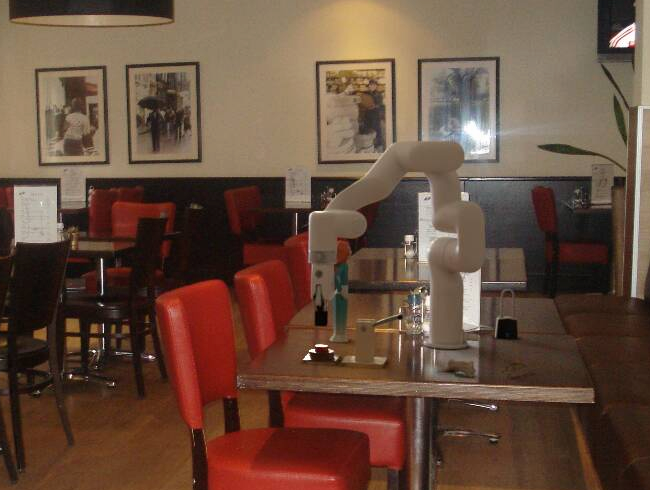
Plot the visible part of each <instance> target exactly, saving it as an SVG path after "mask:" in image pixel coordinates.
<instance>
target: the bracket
mask: <svg viewBox="0 0 650 490" xmlns="http://www.w3.org/2000/svg"><path fill="white" fill-rule="evenodd" d="M375 320H376V319H374V318H357V320H356V321H355V326H354V328H355V329H354V330H355V332H354V333H355V334H354V337H355V338H354V355H345V357H344V358H343V359H342V360H341V364H351V365H368V366H369V365H370V366H385V364H386V363H387V362H386V361H388V357H382V356H380V357H379V356H375V327H376V326H374V327H373V322H376V321H375ZM368 321H369V322H368Z"/></svg>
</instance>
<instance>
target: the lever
mask: <svg viewBox="0 0 650 490" xmlns="http://www.w3.org/2000/svg"><path fill="white" fill-rule="evenodd" d="M405 315H406V314H405V312H404V311H400V312H399V313H398V314H396V315H392V316H389V317H386V318H383V319H380V320H377V321H375V322H373V327H374V326H375V327H377V326H380V325H384V324H387V323H390V322H393V321H397V320H399V321H402V320H403V319H404V318H405ZM368 322H369V321H368Z"/></svg>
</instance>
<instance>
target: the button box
mask: <svg viewBox="0 0 650 490" xmlns="http://www.w3.org/2000/svg"><path fill="white" fill-rule="evenodd" d="M308 351H309V352H308V354H306V356H304V357H303V358H302V362H320V363H321V362H322V363H337V362H338V361H339V359H340V358H341V357H342V356H341V355H339V354H335V350H333V349H330V348H329V352H315V348H312V349H310V350H308Z"/></svg>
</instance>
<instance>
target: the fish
mask: <svg viewBox="0 0 650 490" xmlns="http://www.w3.org/2000/svg"><path fill="white" fill-rule="evenodd" d="M532 362H533V359H532V358H531V359H530V360H529V361H528V362H527V363H526V364H523V363H521V359H520V356H518V357H516V360H515V361H514V362H512V363H509V364H507V365H505V367H503V368H502V370H501V373H502V374H504V375H508V377H510V376H512V377H513V378H517V377H518V375H520V376H523V375H524V372H525V370H527V371H528V372H529V373H530V374H532V373H533V371H532V367H531V366H532Z"/></svg>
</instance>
